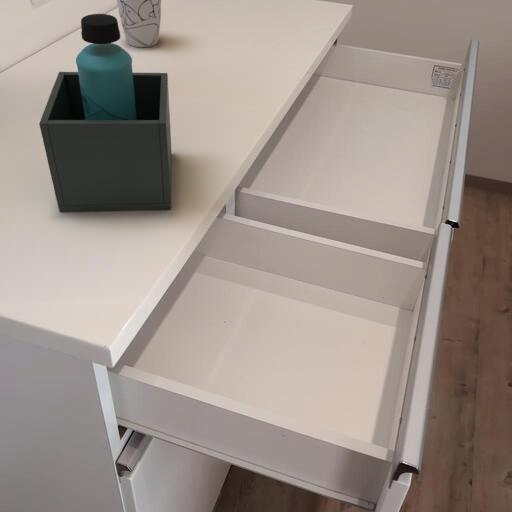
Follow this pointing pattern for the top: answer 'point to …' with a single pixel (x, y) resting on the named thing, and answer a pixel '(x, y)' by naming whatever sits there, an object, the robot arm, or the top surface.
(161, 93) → the bin
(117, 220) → the top surface
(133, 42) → the mug
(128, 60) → the beverage bottle
